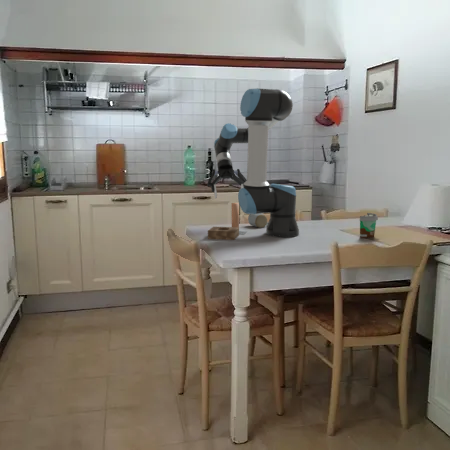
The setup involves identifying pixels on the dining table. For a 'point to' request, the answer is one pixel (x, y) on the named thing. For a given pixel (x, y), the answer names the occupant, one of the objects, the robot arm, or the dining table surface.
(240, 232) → the mat
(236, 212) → the dowel
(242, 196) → the robot arm
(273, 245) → the dining table surface
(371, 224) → the food container
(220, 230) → the socket block
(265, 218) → the grey beige can
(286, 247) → the dining table surface
